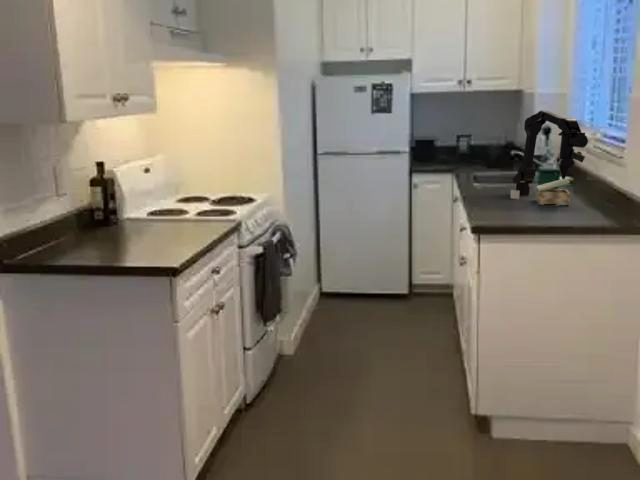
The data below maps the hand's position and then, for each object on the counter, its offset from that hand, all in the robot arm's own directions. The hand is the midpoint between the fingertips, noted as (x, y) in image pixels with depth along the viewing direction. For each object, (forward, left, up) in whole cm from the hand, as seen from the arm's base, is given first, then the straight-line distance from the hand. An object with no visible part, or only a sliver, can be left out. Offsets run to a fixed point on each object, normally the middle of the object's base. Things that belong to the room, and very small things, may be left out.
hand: (563, 179), depth 329 cm
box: (-4, 0, -12) cm, 12 cm away
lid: (-4, 0, -3) cm, 6 cm away
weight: (-21, +9, -12) cm, 26 cm away
